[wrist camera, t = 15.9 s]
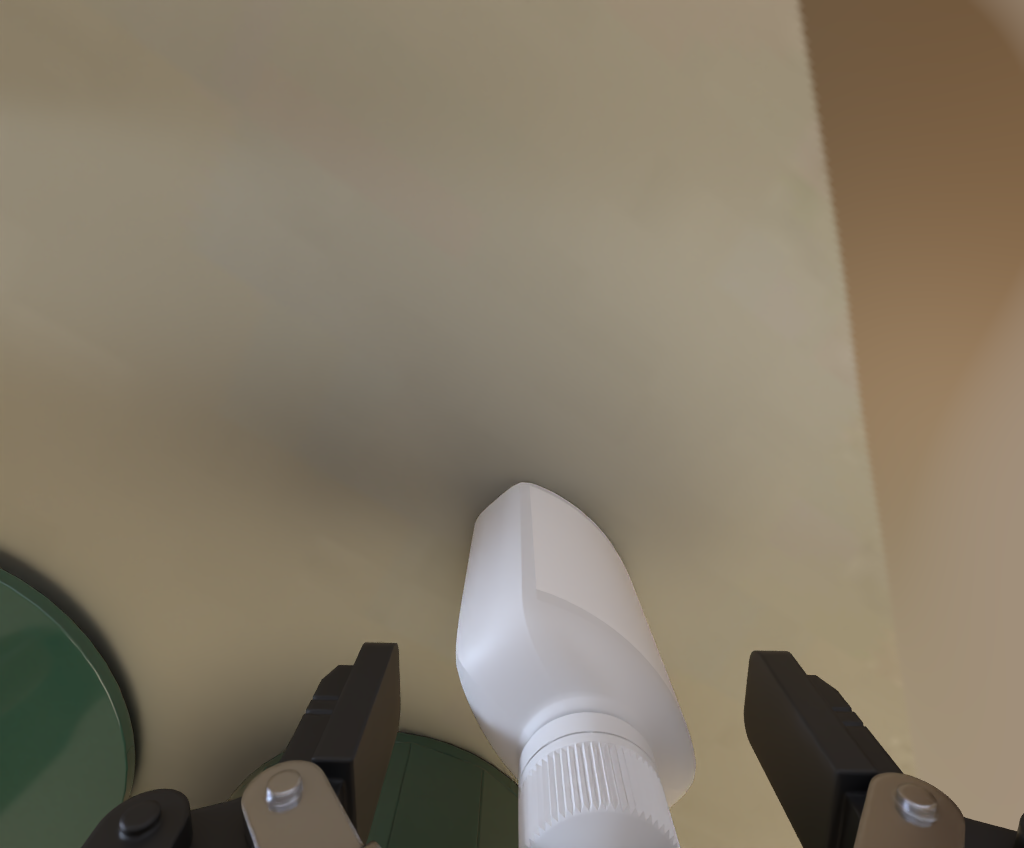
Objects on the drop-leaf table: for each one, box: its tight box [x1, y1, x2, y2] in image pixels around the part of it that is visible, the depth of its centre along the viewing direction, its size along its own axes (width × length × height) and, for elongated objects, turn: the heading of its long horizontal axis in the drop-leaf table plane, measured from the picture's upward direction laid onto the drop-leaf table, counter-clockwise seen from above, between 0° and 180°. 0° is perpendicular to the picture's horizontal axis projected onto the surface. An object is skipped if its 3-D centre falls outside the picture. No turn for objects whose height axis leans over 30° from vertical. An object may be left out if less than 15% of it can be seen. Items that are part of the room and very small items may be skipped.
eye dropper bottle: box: [456, 482, 696, 848], centre depth 13 cm, size 4×6×12 cm
